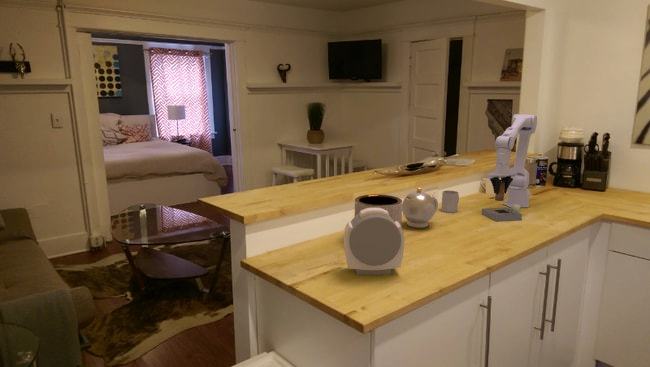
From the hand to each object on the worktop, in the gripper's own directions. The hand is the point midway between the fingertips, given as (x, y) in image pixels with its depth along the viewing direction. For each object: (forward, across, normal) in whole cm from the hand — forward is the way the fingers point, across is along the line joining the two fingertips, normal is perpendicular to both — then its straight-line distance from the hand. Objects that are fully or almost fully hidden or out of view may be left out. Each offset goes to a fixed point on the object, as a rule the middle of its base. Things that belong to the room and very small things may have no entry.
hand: (500, 193), depth 197 cm
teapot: (+10, +41, +2) cm, 42 cm away
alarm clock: (+11, +80, +39) cm, 89 cm away
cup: (+10, +16, -14) cm, 23 cm away
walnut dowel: (+3, 0, 0) cm, 3 cm away
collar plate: (+10, +1, +3) cm, 10 cm away
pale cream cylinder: (+10, -9, 0) cm, 14 cm away
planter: (+11, +66, +13) cm, 68 cm away
